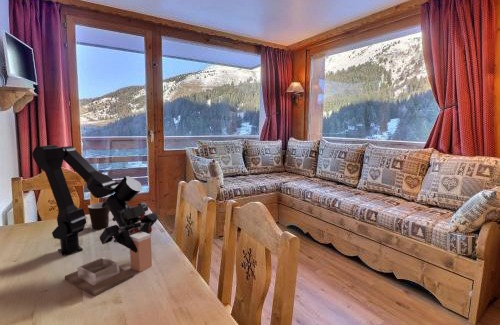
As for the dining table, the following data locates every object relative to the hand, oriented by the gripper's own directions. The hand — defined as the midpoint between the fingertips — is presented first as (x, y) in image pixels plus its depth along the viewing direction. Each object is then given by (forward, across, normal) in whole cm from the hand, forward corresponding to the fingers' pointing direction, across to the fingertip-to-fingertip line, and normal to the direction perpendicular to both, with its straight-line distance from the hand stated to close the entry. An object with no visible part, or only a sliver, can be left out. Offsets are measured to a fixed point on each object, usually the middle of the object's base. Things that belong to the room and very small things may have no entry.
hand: (143, 249), depth 94 cm
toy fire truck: (-14, +19, +24) cm, 33 cm away
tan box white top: (+4, 0, +6) cm, 7 cm away
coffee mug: (-29, +14, +38) cm, 50 cm away
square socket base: (0, -11, +9) cm, 15 cm away
